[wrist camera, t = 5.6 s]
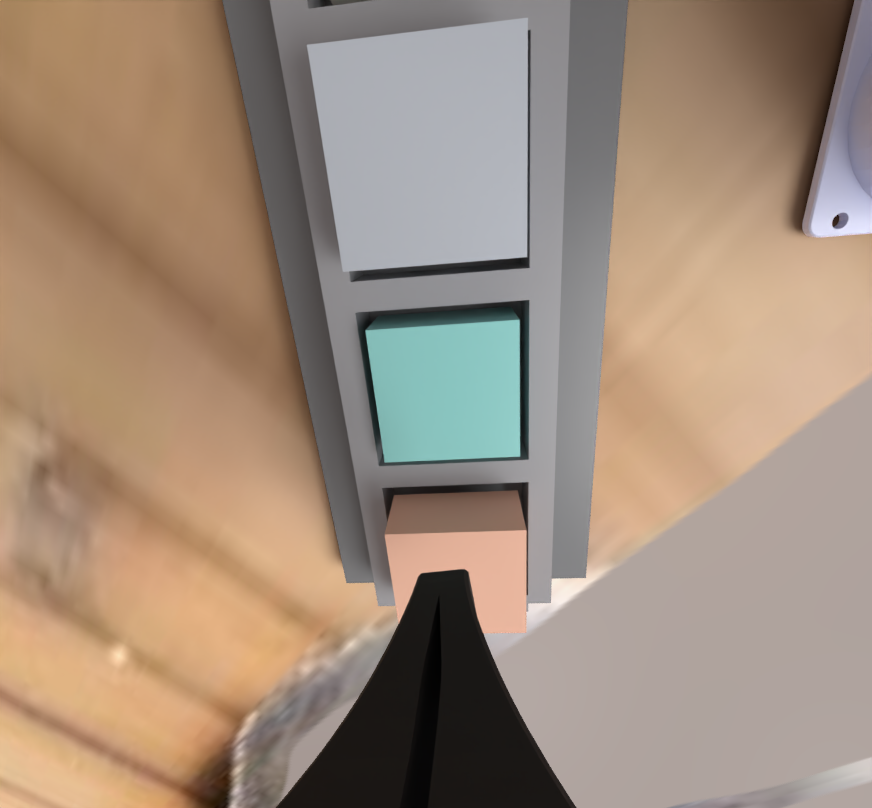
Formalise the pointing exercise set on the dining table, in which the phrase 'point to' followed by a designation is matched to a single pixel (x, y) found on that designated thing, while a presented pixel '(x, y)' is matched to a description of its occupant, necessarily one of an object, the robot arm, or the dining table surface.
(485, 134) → the slate key
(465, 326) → the teal key
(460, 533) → the terracotta key
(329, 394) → the keypad
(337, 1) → the cream key
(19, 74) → the dining table surface
